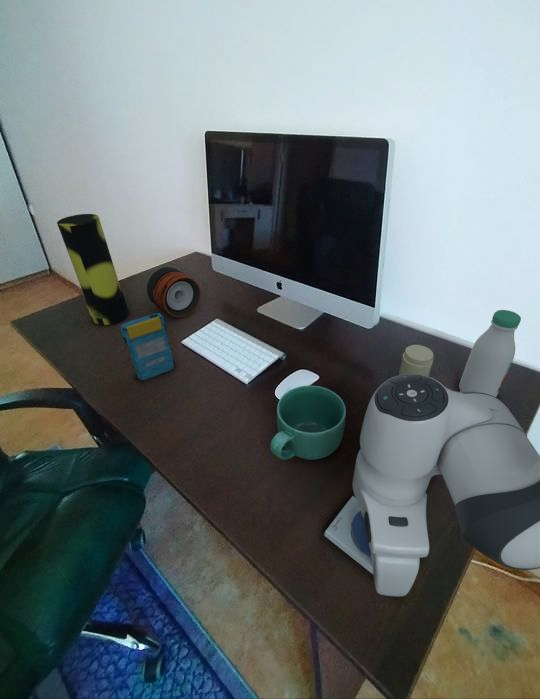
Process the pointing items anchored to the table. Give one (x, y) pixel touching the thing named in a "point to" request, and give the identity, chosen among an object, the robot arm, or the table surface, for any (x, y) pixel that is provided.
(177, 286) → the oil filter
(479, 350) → the milk bottle
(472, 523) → the robot arm
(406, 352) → the jar
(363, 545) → the jar lid
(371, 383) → the table surface
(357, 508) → the hard drive
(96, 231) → the container
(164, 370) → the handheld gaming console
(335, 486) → the table surface
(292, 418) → the mug
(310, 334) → the table surface
